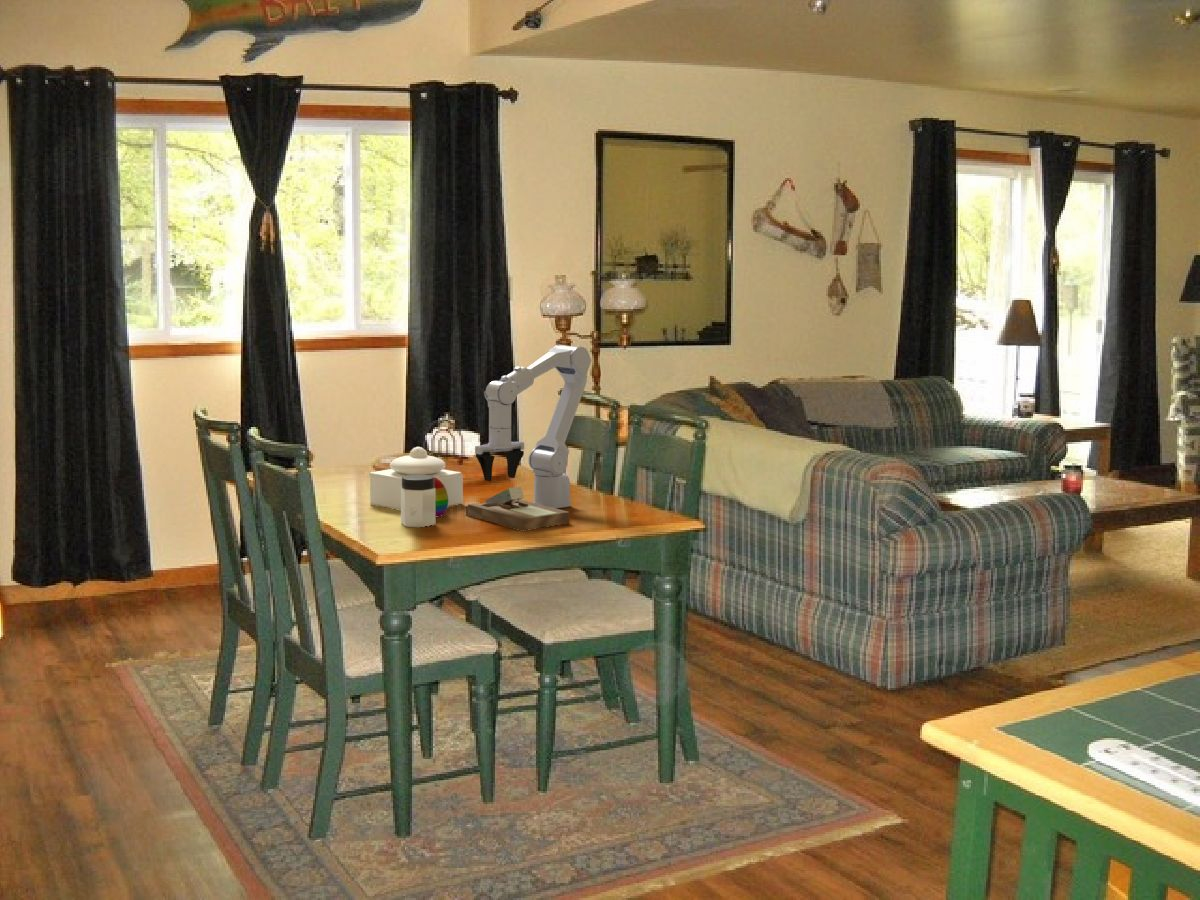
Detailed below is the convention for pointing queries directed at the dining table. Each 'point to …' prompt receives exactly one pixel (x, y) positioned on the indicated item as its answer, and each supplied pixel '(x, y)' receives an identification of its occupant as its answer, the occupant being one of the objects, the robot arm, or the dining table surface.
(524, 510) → the pad
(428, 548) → the dining table surface
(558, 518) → the board
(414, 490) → the jar
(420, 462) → the butter dish
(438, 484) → the decorative egg
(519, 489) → the bar
